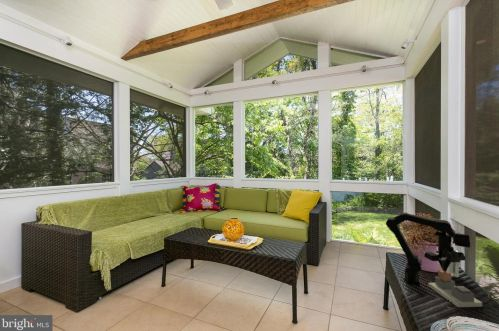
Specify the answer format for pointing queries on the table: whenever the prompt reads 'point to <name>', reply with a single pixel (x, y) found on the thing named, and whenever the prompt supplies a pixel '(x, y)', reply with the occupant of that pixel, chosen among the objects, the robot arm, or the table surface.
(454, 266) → the beer glass
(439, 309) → the table surface
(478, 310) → the table surface
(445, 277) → the terracotta plunger
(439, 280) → the console
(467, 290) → the plunger
